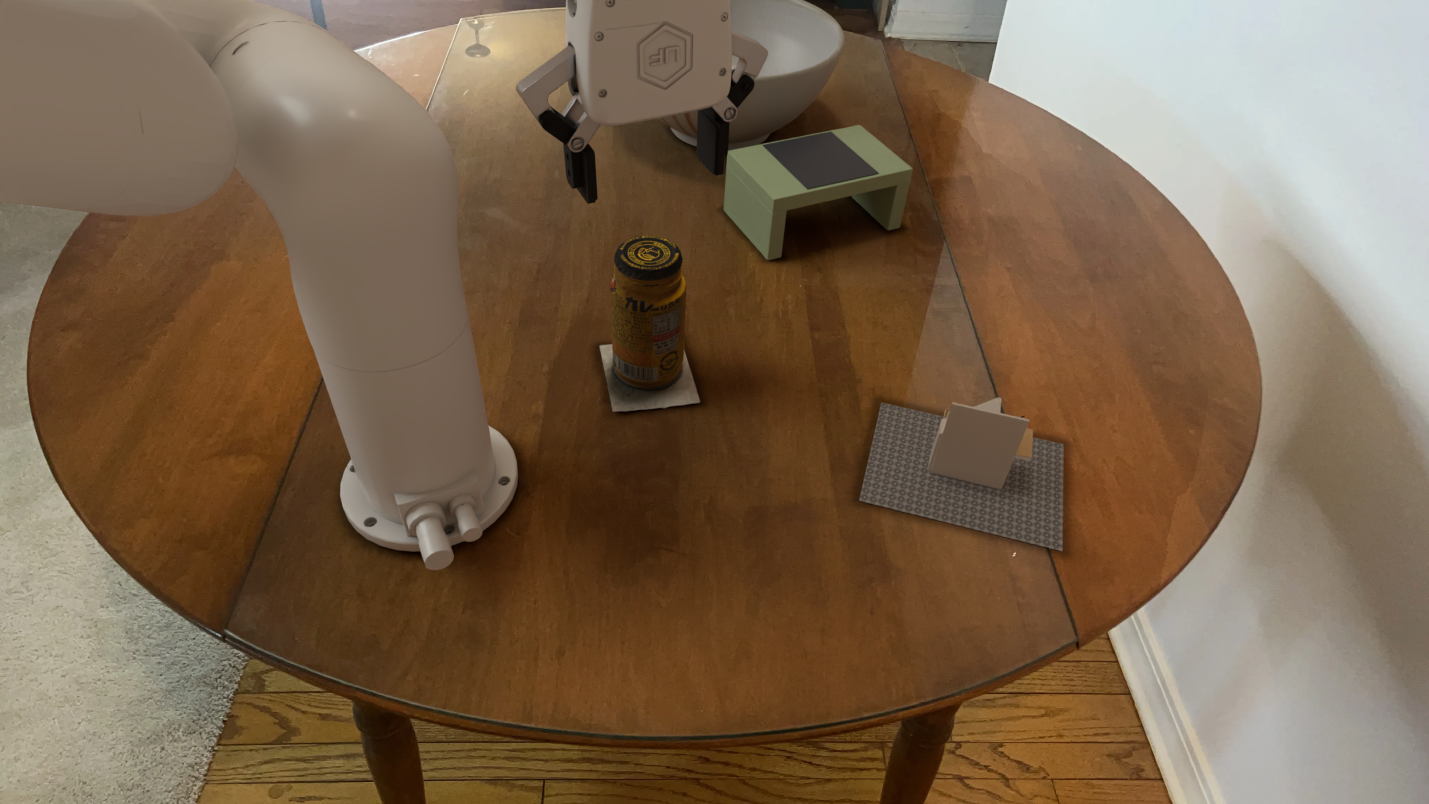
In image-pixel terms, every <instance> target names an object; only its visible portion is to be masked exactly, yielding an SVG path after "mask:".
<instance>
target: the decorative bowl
mask: <svg viewBox="0 0 1429 804" xmlns="http://www.w3.org/2000/svg"><path fill="white" fill-rule="evenodd" d="M729 1H730V14H731V30H732V31H734V32H736V33H739V34H741V35H743V36H746V37H748V38H750V39H753V40H755V41H757V42H758V43H760V44H761V45H762V46H763V47H764V48H766V49H767V51H768V56H767V59H766V61H765V63H764V65H763V67H762V69H761V71H760V73H759V75H758V77H756V78H755V80H754V83H755V85H754V89H753V90H752V92H751V93H750V94H749V95H748V96H747V97H746V99H745V100H744V101H743V102H742V103H741V105H740V106H739V107H738V108H737V110H738V114H737V117H736V118H735V119H734V120H733V121H731V122H730V125H729V143H728V151H730V150H735V149H740V148H745V147H750V146H755V145H760V144H763V142H765V141H767V139H768V138H769V137H770V135H771V134H772V133H774V132H776V131H778V130H780V129H782V128H784V127H785V126H787V125H788V124H790V123H791V122H793V121H794V120H795V119H797V118H798V117H799V116H800V115H801V114H802V113H804V112H805V111H806V110H807V109H808V108H809V107H810V106H811V105H812V103H814V101H815V100H816V99H817V97H819V96H820V94H821V92H822V91H823V90H824V88H825V87H826V85H827V83H828V82H829V80H830V79H831V78H832V75H833V74H834V71H835V69H836V67H837V65H838V63H839V61H840V59H841V56H842V53H843V51H844V47H845V44H846V43H845V40H846V38H845V33H844V30H843V28H842V27H841V24H839V22H838V21H837V20H836V19H835V18H834V17H833V16H832V15H831V14H830V13H828V12H827V11H825V10H823V9H822V8H820V7H818V6H816V5H815V4H812V3H811V2H808V1H807V0H729ZM738 59H739V57H737V56H734V55H732V70H734V69H736V67H737V65H736V64H737V62H738ZM657 120H658V121H659V122H661V123H662V124H664V125H665V126H667V127H669V128H670V130H671V132H672V133H673V134H674V136H675V137H677V138H678V139H679V140H680V141H682V142H684V143H686V144H688V145H691V146H693V147H696V148H697V120H698V110H697V111H692V112H687V113H682V114H677V115H672V116H667V117H662V118H657Z"/></svg>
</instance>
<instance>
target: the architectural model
mask: <svg viewBox="0 0 1429 804" xmlns="http://www.w3.org/2000/svg"><path fill="white" fill-rule="evenodd" d="M1001 408H1002V397H1001V396H999V397H996V398H992V399H990V400H988V401H985V402H982V403H980V404H978V405H975V406H972V405H967V404H963V403H959V402H952V403H951V406H950V408H949V407H946V409H945V410H944V413H943V416H942V415H938V414H933V413H928V412H925V411H919V410H916V409H911V408H907V407H902V406H898V405H894V404H889V403H885V402H881V403H880V407H879V410H878V416H877V420H876V424H875V428H874V432H873V438H872V442H871V446H870V450H869V455H868V459H867V464H866V468H865V473H864V477H863V482H862V486H861V491H860V495H859V499H858V500H859V502H863V503H867V504H871V505H874V506H878V507H882V508H887V509H891V510H894V511H898V512H903V513H907V514H909V515H913V516H914V515H915V516H919V517H923V518H926V519H929V520H935V521H939V522H942V523H947V524H951V525H955V526H959V527H963V528H967V529H971V530H976V531H978V532H983V533H987V534H992V535H994V536H999V537H1003V538H1007V539H1011V540H1015V541H1019V542H1024V543H1027V544H1032V545H1035V546H1038V547H1039V546H1040V547H1044V548H1048V549H1051V550H1056V551H1060V552H1064V548H1063V547H1064V542H1063V541H1064V461H1065V460H1064V459H1065V458H1064V457H1065V456H1064V449H1065V445H1064V444H1063V443H1060V442H1055V441H1051V440H1047V439H1042V438H1037V437H1034V429H1033V428H1029V427H1028V426H1029V423H1030V419H1029V418H1025V415H1021V416H1017V415H1016V416H1015V415H1011V414H1007V413H1002V412H1001Z"/></svg>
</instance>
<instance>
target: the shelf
mask: <svg viewBox="0 0 1429 804" xmlns="http://www.w3.org/2000/svg"><path fill="white" fill-rule="evenodd" d="M913 170H914V169H913V167H911V165H909V164H908V163H907V162H906V161H904V160H903V159H902V158H901V157H899V156H898V155H897V154H896V153H895V152H893V151H892V150H891V149H890V148H888V147H887V146H886V145H885V144H884V143H883V142H882V141H880V139H877V137H875V136H874V135H873V134H872V133H870V132H869V131H868V130H867V129H866V128H865V127H863V126H862V125H861V124H857V125H851V126H847V127H842V128H836V129H831V130H826V131H822V132H816V133H810V134H806V135H801V136H795V137H790V138H785V139H781V140H780V139H779V140H775V141H771V142H766V143H765V142H764V143H760V144H758V145H755V146H750V147H745V148H740V149H735V150H730V151H728V154H727V156H726V167H725V181H724V196H723V197H724V199H723V211H724V213H725V214H726V215H727V216H728V217H729V218H730V220H731V221H733V223H734V224H735V226H736V227H738V228H739V230H740V231H741V232H742V233H743V234H744V235H745V237H746V238H747V239H748V240H749V241H750V242H751V243H752V244H753V246H754V247H755V248H756V250H758V251H759V253H760V254H761V255H762V256H763V257H764V258H765V259H766V261H770V260H771V261H772V260H775V259H776V260H777V259H779V258H782V255H783V253H782V252H783V246H784V245H783V244H784V237H785V229H786V228H785V227H786V220H787V219H786V218H787V211H791V210H795V209H800V208H804V207H809V206H813V205H817V204H822V203H826V202H831V201H835V200H839V199H844V198H848V197H851V198H852V199H853V200H854V201H855V202H856V203H857V204H858V205H859V206H860V207H862V209H864V211H866V212H867V213H868V214H869V215H870V216H871V217H872V218H873V219H874V220H876V222H878V224H880V225H881V226H882V227H883V228H884V229H885V230H886V231H892V230H893V231H894V230H897V229H900V228H901V225H902V220H903V216H904V210H905V207H906V202H907V197H908V192H909V188H910V184H911V179H912V175H913Z"/></svg>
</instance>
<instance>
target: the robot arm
mask: <svg viewBox="0 0 1429 804" xmlns="http://www.w3.org/2000/svg"><path fill="white" fill-rule="evenodd" d="M564 13H565V14H564V15H565V16H564V17H565V18H564V20H565V21H564V23H565V26H564V28H565V29H564V31H565V32H564V46H565V48H563V49H562V50H561V51H559V52H558V53H557V54H555V55H554V56H552V57H551V58H549V59H548V60H547V61H546V62H544V63H543V64H541V65H540V66H538V67H537V68H536V69H535V70H533V71H531V72H530V73H529V74H527V75H526V76H525V77H524V78H522V79H521V80H519V81H518V82H517V83H516V86H515V90H516V93H517V95H519V97H520V98H521V100H522V101H523V103H524V104H525V106H526V107H527V108H528V110H529V111H530V113H531V114H532V115H533V116H534V118H535V119H536V121H537V123H538V124H539V125H540V127H541V128H542V129H543V130H544V131H545V132H546V133H548V134H549V135H551V136H552V137H554V138H555V139H556V140H558V141H559V142H560V143H562V146H563V157H564V168H565V176H566V177H565V178H566V181H567V183H568V186H569V187H570V188H571V189H572V190H575V189H576V190H577V191H578V193H579V194H580V196H581V197H582V198H583V200H584V201H585V203H586V204H587V205H589V204H594V203H596V201H598V197H599V196H598V182H597V181H598V180H597V166H596V165H597V163H596V153H595V149H593V147H592V146H591V144H589V143H590V141H591V139H593V137H594V135H595V134H596V133H597V131H598V129H599V128H600V127H601V126H603V127H616V126H624V125H629V124H636V123H640V122H646V121H651V120H656V119H657V118H662V117H667V116H672V115H677V114H682V113H687V112H692V111H697V110H698V120H697V147H696V157H697V159H698V160H699V161H700V162H701V163H702V164H703V165H704V167H705V168H706V169H707V170H708V171H709V172H710V173H711V174H712V175H714V176H719V175H720V176H721V175H723V174H724V171H725V157H727V154H728V143H729V125H730V122H731V121H733V120H734V119H735V118H736V117H737V114H738V110H737V108H738V107H739V106H740V105H741V103H742V102H743V101H744V100H745V99H746V97H747V96H748V95H749V94H750V93H751V92H752V90H753V89H754V85H755V83H754V80H755V78H756V77H758V75H759V73H760V71H761V69H762V67H763V65H764V63H765V61H766V59H767V56H768V51H767V49H766V48H764V47H763V46H762V45H761V44H760V43H758V42H757V41H755V40H753V39H750V38H748V37H746V36H743V35H741V34H739V33H736V32H734V31H732V30H731V14H730V1H729V0H565V12H564ZM732 55H734V56H737V57H739V59H738V62H737V64H736V65H737V67H736V69H734V70H732ZM566 83H567V86H568V90H569V92H570V94H571V99H570V101H569V102H568V104H567V105H566V106H565V108H563V110H562V112H559V111H558V110H557V109H555V108H554V107H552V106H551V104H550V103H549V97H550V95H551V94H552V93H553V92H555V91H556V90H558V89H559V88H560V87H561V86H563V85H565V84H566ZM657 120H658V119H657ZM234 168H235V170H236V171H237V172H238V173H239V175H241V176H242V178H243V180H244V181H245V182H246V183H247V185H249V187H250V188H251V189H252V190H253V191H254V193H256V195H257V196H258V197H259V198H260V200H262V202H263V203H264V204H265V206H266V207H267V209H268V210H269V212H270V213H271V215H272V217H273V219H274V221H275V223H276V225H277V227H278V229H279V232H280V234H281V237H282V239H283V242H284V245H285V248H286V251H287V256H288V261H289V268H290V269H289V270H290V276H291V283H292V288H293V292H294V296H295V301H296V302H297V307H298V310H299V313H300V317H301V319H302V322H303V326H304V328H305V331H306V334H307V338H308V340H309V343H310V346H311V347H312V350H313V353H314V355H315V359H316V361H317V364H318V367H319V370H320V372H321V376H322V378H323V379H322V380H323V381H324V385H325V388H326V391H327V393H328V396H329V399H330V402H331V405H332V408H333V411H334V413H335V416H336V420H337V422H338V425H339V428H340V431H341V434H342V436H343V440H344V442H345V445H346V446H345V447H346V448H347V452H348V454H349V457H350V459H349V461H348V463H347V465H346V467H345V469H344V471H343V474H342V478H341V481H340V488H339V490H340V491H339V497H340V501H341V506H342V508H343V511H344V513H345V516H346V519H347V521H348V522H349V523H350V524H351V526H352V528H354V530H355V531H356V532H357V533H358V534H360V535H361V536H362V537H363V538H365V539H366V540H368V541H370V542H372V543H374V544H376V545H378V546H379V547H383V548H387V549H390V550H395V551H402V552H403V551H404V552H413V553H414V552H420V554H421V557H422V560H423V564H424V567H425V568H426V569H428V570H430V571H440V570H443V569H445V568H447V567H449V566H450V565H451V564H452V563H453V561H454V558H455V555H454V551H453V549H452V546H455V545H458V544H460V543H462V542H467V543H470V542H475V541H477V540H479V539H480V538H481V537H482V536H483V532H484V531H485V530H486V529H487V528H489V527H490V526H491V525H493V524H494V523H495V522H496V521H497V520H498V518H500V517H501V516H502V515H503V514H504V513H505V511H506V510H507V508H508V507H509V506H510V504H511V502H512V501H513V499H514V496H515V493H516V490H517V488H518V483H519V481H518V480H519V469H518V461H517V457H516V454H515V451H514V449H513V447H512V445H511V444H510V442H509V441H508V439H507V438H506V437H505V436H504V435H503V434H502V433H501V432H500V431H498V430H497V429H495V428H494V427H492V426H490V425H489V421H488V416H487V409H486V403H485V399H484V394H483V387H482V382H481V377H480V372H479V365H478V359H477V355H476V349H475V343H474V337H473V332H472V326H471V320H470V316H469V310H468V306H467V300H466V295H465V290H464V283H463V277H462V272H461V262H460V254H459V243H458V242H459V241H458V239H459V238H458V237H459V236H458V232H459V231H458V227H459V225H458V224H459V199H460V198H459V197H460V196H459V195H460V187H459V186H460V185H459V177H458V175H459V174H458V170H457V165H456V160H455V158H454V154H453V152H452V149H451V147H450V144H449V142H448V140H447V138H446V136H445V135H444V132H443V131H442V129H441V128H440V127H439V125H438V123H437V122H436V121H435V119H434V118H433V116H431V114H430V113H429V112H428V110H427V109H426V108H425V107H424V106H423V105H422V104H421V102H419V101H418V100H417V99H416V97H414V96H413V95H412V94H411V93H410V92H408V91H407V89H405V88H404V87H403V86H402V85H400V84H399V83H397V82H396V81H395V80H394V79H393V78H391V77H390V75H389V76H388V74H386V73H385V72H383V70H381V69H380V68H378V67H377V66H376V65H375V64H373V62H371V61H369V60H367V59H366V58H364V57H363V56H361V55H360V54H359V53H358V52H356V50H354V49H353V48H351V47H350V46H349V45H347V44H346V43H345V42H344V41H342V40H341V39H340V38H338V37H337V36H335V35H334V34H332V32H330V31H328V30H327V29H326V28H324V27H322V26H320V25H319V24H317V23H315V22H314V21H311V20H310V19H307V18H305V17H303V16H301V15H298V14H297V13H293V12H290V11H288V10H284V9H283V8H282V9H281V8H278V7H275V6H272V5H269V4H265V3H262V2H258V1H255V0H0V203H6V204H13V205H14V204H15V205H24V206H31V207H40V208H41V207H42V208H49V209H51V208H52V209H58V210H59V209H60V210H68V211H75V212H83V213H84V212H85V213H91V214H101V215H109V216H124V217H125V216H127V217H157V216H164V215H170V214H177V213H180V212H183V211H187V210H189V209H191V208H195V207H197V206H200V205H201V204H203V203H204V202H206V201H207V200H209V199H211V197H213V196H214V195H216V194H217V193H218V192H219V191H220V190H221V189H222V188H223V187H224V186H225V184H226V183H227V181H228V180H229V178H230V177H231V175H232V173H233V171H234Z"/></svg>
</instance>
